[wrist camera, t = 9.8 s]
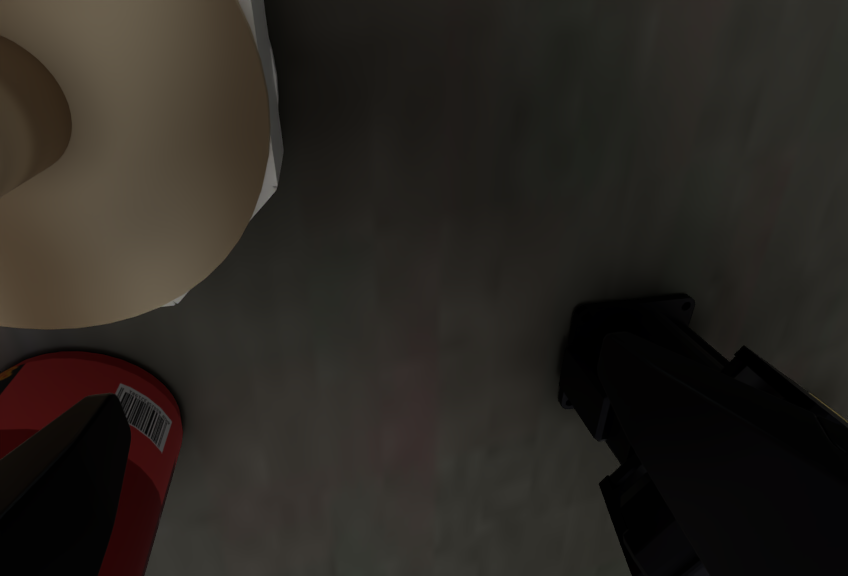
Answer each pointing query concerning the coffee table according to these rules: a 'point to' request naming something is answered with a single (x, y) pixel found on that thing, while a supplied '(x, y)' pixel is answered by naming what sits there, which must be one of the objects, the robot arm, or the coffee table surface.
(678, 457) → the robot arm
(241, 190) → the lid
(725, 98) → the coffee table surface
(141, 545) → the canned food
